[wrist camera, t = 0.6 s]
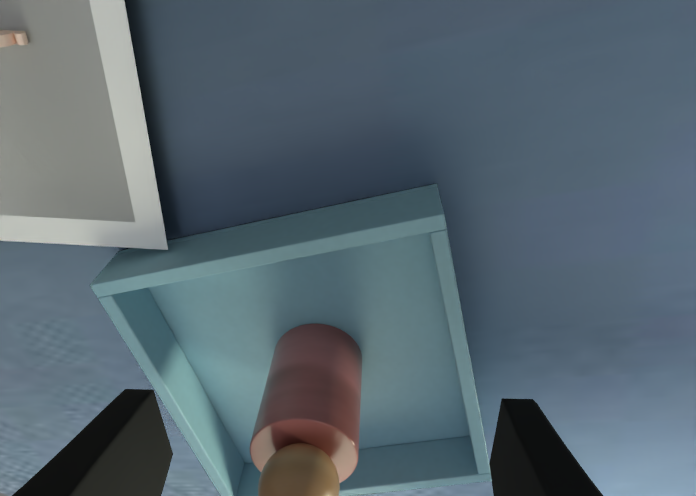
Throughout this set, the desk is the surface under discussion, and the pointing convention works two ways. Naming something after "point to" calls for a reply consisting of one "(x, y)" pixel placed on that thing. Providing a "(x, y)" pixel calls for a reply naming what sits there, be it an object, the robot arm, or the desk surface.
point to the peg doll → (309, 414)
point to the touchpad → (74, 128)
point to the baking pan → (310, 308)
